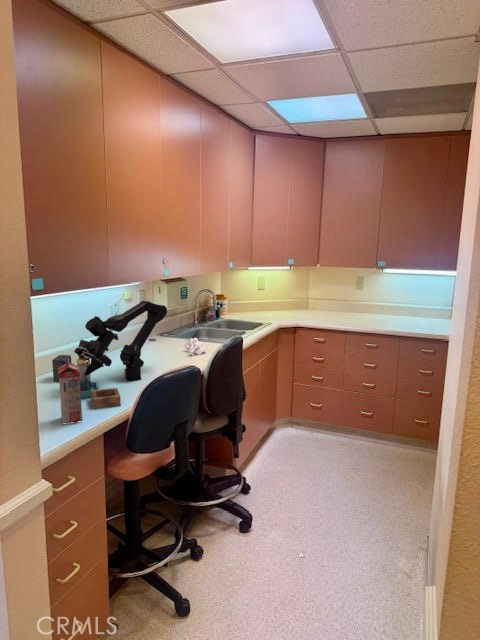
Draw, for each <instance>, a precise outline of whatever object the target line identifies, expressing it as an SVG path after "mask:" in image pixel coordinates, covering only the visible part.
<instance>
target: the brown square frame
mask: <svg viewBox="0 0 480 640" xmlns="http://www.w3.org/2000/svg"><path fill="white" fill-rule="evenodd" d="M90 399H91V403H92V408H93V410H99V409H98V408H100V409H106V407H108V408H115V407H114V406H116V407H121V405H122V403H121V395H120V391H119V389H118V387H112V388H102V389H100V390H92V391H91V398H90Z"/></svg>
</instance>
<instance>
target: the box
mask: <svg viewBox="0 0 480 640" xmlns="http://www.w3.org/2000/svg"><path fill="white" fill-rule="evenodd" d="M68 358H69V363H72V356H71V354H59V355H58V356H55V357H54V358H53V359H52V360H51V363H52V375H53V382H54V383H59V368H60V367H61V366H63V365H64V364H66V363H68Z"/></svg>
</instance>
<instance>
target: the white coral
mask: <svg viewBox="0 0 480 640" xmlns="http://www.w3.org/2000/svg"><path fill="white" fill-rule="evenodd" d="M182 347H183V348H184V350H186V352H187V353H188V354H190V355H191V356H193V357H195V355H194V354H196V355H198V356H200V355H202V354H203V353H204V352H205V351H206V350H207V346H206V345H204V343H203V342H201V341H199V340H198V338H197V337H194V338H192V337H190V339H189V340H188V341H186V342H185V343H184V344H183V345H182Z"/></svg>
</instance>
